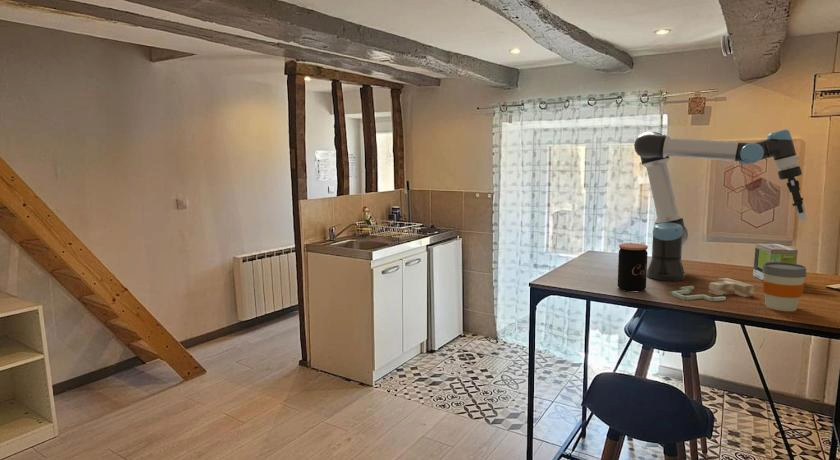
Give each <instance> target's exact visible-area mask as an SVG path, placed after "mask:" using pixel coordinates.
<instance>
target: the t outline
mask: <svg viewBox="0 0 840 460" xmlns="http://www.w3.org/2000/svg"><path fill="white" fill-rule="evenodd" d="M678 287H679V290H672V291H669V295H670V296H673V297H675V298H678V299H680V300H683V301H689V300H697V299H698V300H699V299H703V300H707V301H710V302H712V303H713V302H721V301H726V300H727V297H726V296H725V295H724V296H723V295H721V296H715V297H712V296H709V295H707V294H703V293H702V294H692V293H693V292H692V291H693V290H694V289H695V285H687V286H686V285H685V286H678ZM687 294H688V295H687ZM689 294H692V295H689Z"/></svg>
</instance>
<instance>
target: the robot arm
mask: <svg viewBox="0 0 840 460" xmlns="http://www.w3.org/2000/svg"><path fill="white" fill-rule="evenodd" d="M766 136H767V138H766V139H765V140H761V141H757V142H750V143H749V142H736V141H735V142H734V141H722V140H720V141H719V140H710V139H709V140H708V139H707V140H705V139H692V138H691V139H689V138H676V137H670V136H669V135H668V134H667V135H666V134H662V133H659V132H656V131H646V132H642V133H641V134H639V136H638V137H636V138H635V141H634V144H633V145H634V146H633V147H634V151H635V153H636V154H637V155H638V156H639V157H640V161H641V165H642V166H643V167H645V168H646V172H647V175H648V180H649V185H650V186H649V187H650V190H651V193H652V194H651V195H652V199H653V204H654V207H655V213H656V216H657V219H656V220H655V221H654V224H655V225H654V226H653V230H652V244H651V245H652V251H651V259H650V261H649V266H648V267H647V278H649V277H650V279H652V278H653V279H652V280H658V281H669V282H679V281H684V280H685V279H686V272H685V269H684V266H683V263H682V255H683V253H682V252H683V249H682V248H683V245H685V243H686V242H687V240H688V235H689V233H688V229H687V227H686V226H685V221H684V218H683V216H681V215H680V214H678V208H677V204H676V198H675V196H674V195H675V194H674V190H673V185H672V182H671V178H670V173H669V168H668V162H669V160H670V157H680V158H691V159H703V160H716V161H727V162H729V161H730V162H738V163H739V165H741V166H742V165H749V164H756V163H757V162H759V161H761V160H762V161H763V160H766V159H769V158H773V161H774V164H775V165H774V166H775V168H776V169H775V170H778V171H777V175H778V179H779V180H782V181H783V180H787V182H786V186H787V188H788V190H789V193H790V194H791V196H792V200H793V203H792V207H794V208H795V211H796V215H797V218H798V222H800V223H801V222H804V221H805V222H806V221H809V220H808V215H807V213H806V210H805V205H804V202H803V201H804V198H803V197H802V196H801V193H800V190H801V188H800V181H799V180H797V179H796V177H799V176H802V174H803V172H802V169H801V166H799V164H800V163H799V160H800V156H797V152H796V149H795V144H794V141H793V138H792V137H793V136H792V135H791V133H790V130H788V129H782V130H779V131H775V132H771V133H769V134H767V135H766Z"/></svg>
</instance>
